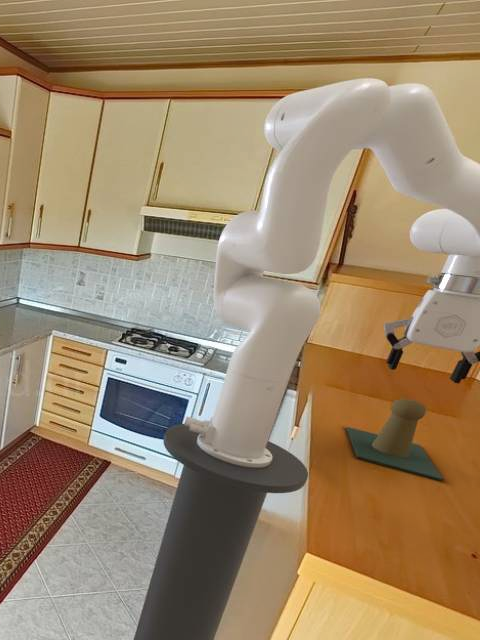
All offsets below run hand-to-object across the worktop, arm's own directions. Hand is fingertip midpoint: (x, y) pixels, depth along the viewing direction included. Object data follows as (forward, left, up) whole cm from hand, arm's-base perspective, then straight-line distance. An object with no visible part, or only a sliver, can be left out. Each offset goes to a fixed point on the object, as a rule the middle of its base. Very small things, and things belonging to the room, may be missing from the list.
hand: (422, 374), depth 95 cm
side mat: (0, 0, -17) cm, 17 cm away
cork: (0, 0, -17) cm, 17 cm away
